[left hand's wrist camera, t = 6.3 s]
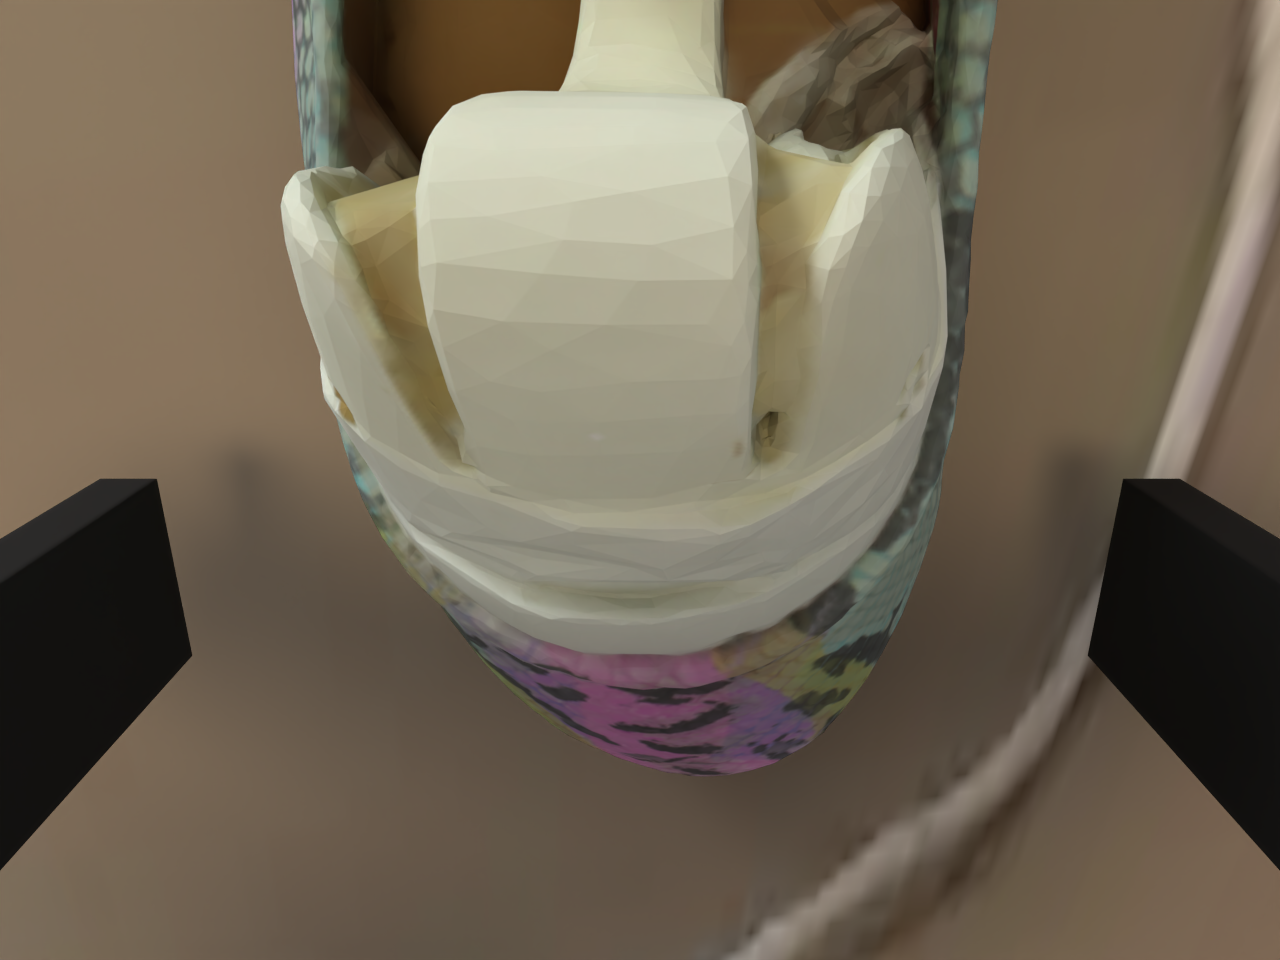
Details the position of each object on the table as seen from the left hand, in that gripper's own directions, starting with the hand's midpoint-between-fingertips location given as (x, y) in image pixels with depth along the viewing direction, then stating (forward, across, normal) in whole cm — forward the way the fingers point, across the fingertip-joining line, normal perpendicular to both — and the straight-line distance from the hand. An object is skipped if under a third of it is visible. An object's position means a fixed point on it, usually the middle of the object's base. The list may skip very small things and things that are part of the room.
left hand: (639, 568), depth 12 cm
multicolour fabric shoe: (+3, 0, -8) cm, 8 cm away
